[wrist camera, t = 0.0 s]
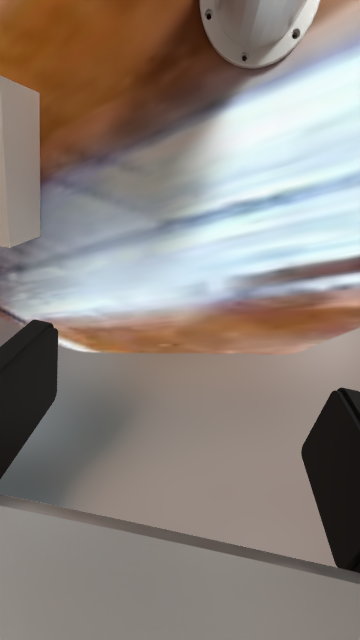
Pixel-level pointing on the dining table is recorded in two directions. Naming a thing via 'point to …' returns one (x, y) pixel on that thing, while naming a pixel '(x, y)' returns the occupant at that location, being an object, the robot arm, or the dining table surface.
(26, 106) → the block
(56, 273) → the dining table surface
